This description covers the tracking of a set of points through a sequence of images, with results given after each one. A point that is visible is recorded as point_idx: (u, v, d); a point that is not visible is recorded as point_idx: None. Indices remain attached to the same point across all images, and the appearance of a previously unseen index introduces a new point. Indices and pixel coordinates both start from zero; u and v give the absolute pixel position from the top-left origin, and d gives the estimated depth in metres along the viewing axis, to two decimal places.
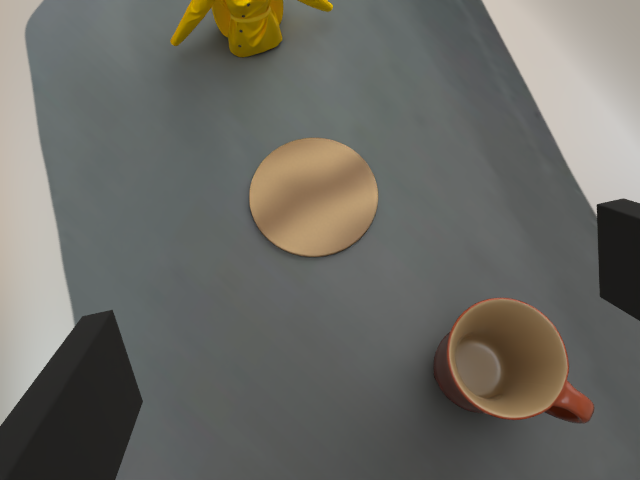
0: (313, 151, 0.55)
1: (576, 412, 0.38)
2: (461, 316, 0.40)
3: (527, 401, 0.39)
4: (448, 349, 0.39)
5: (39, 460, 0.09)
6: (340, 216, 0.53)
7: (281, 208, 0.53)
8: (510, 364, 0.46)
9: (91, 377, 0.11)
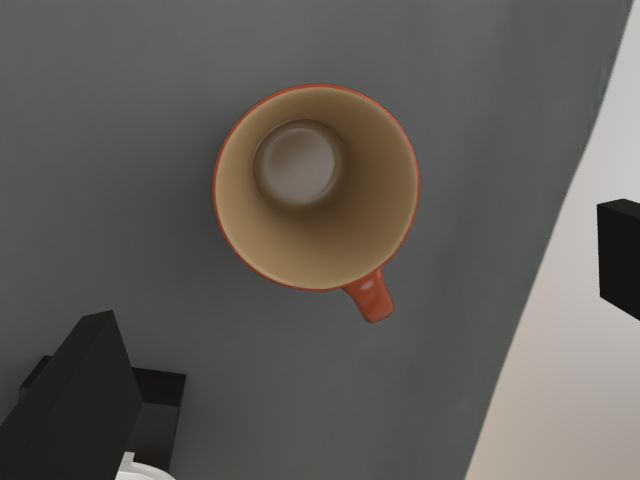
0: None
1: (361, 310, 0.25)
2: (288, 90, 0.21)
3: (310, 261, 0.25)
4: (233, 129, 0.21)
5: (39, 461, 0.09)
6: None
7: None
8: (345, 189, 0.30)
9: (91, 377, 0.11)
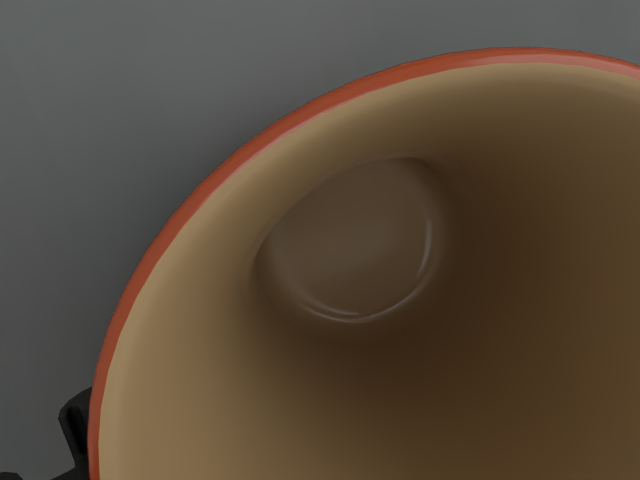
0: None
1: None
2: (400, 77, 0.05)
3: None
4: (160, 246, 0.05)
5: None
6: None
7: None
8: (456, 299, 0.14)
9: None
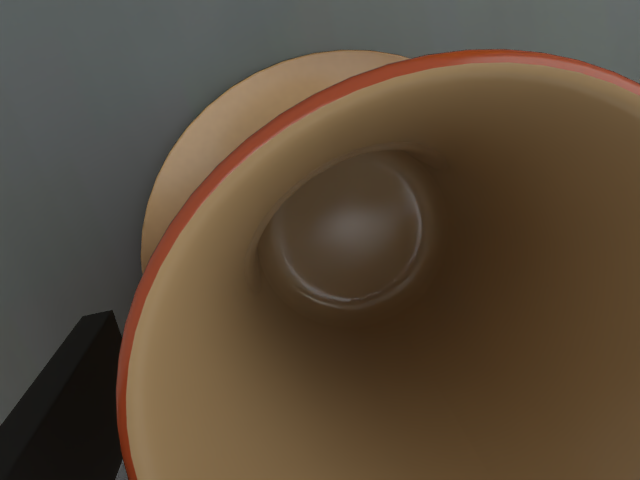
0: None
1: None
2: (388, 75, 0.06)
3: None
4: (181, 221, 0.06)
5: (39, 461, 0.09)
6: None
7: None
8: (446, 285, 0.14)
9: (91, 378, 0.11)
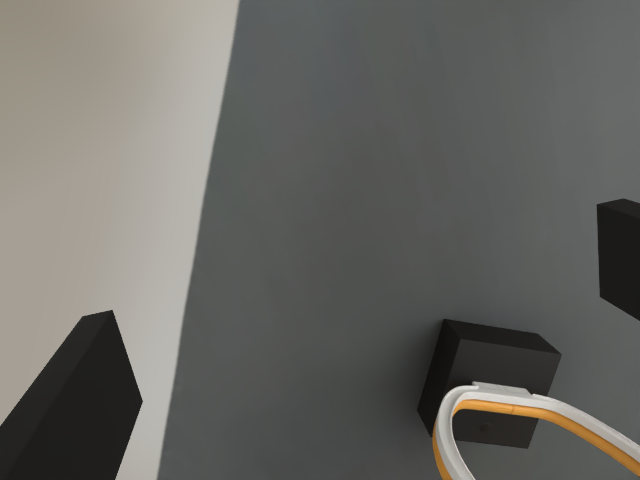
0: None
1: None
2: None
3: None
4: None
5: (39, 460, 0.09)
6: None
7: None
8: None
9: (91, 378, 0.11)
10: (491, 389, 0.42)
